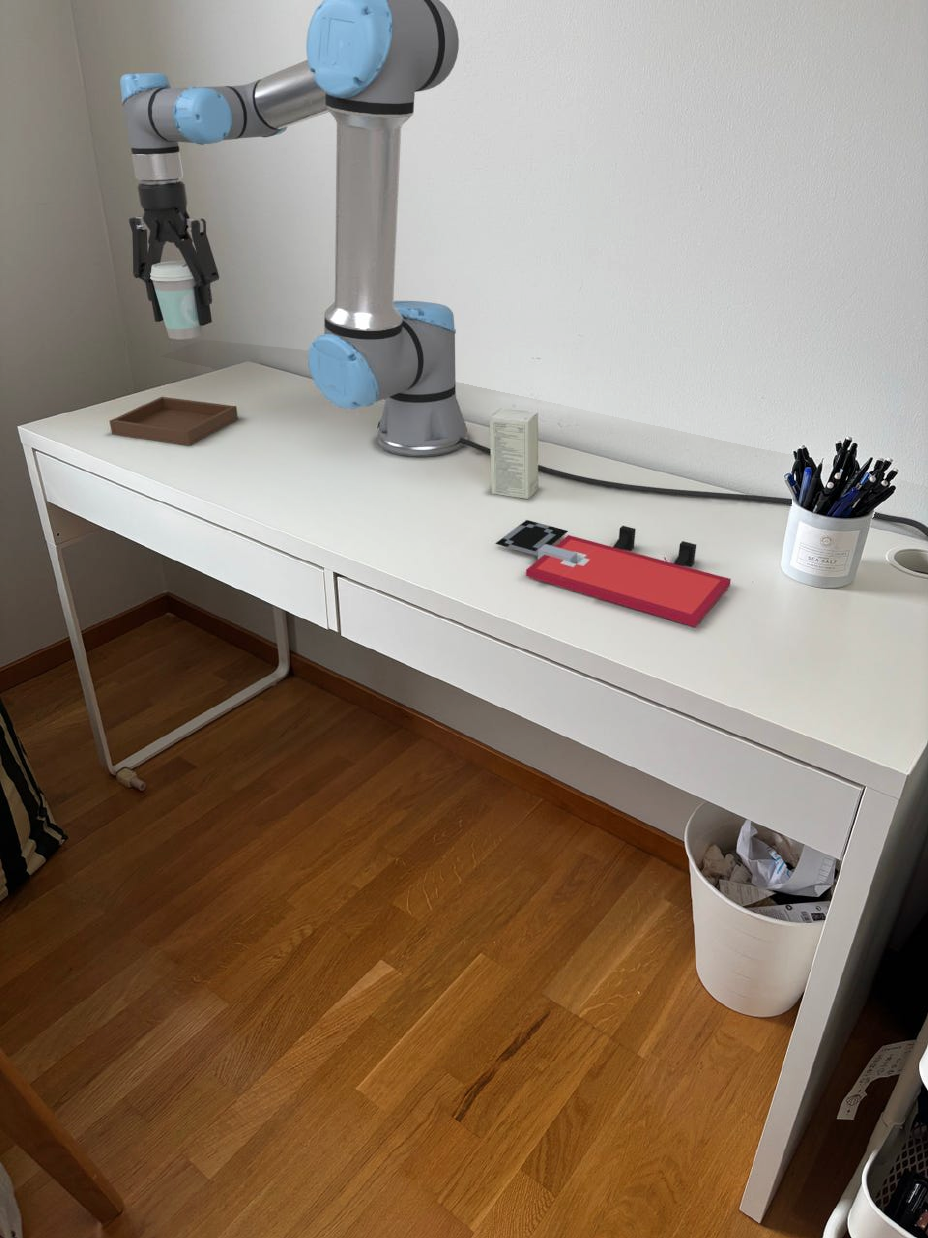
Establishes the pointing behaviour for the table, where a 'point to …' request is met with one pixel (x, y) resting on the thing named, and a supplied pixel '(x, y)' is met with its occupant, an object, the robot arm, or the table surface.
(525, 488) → the cosmetic box
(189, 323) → the coffee cup
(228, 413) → the tray
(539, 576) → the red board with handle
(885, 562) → the table surface
